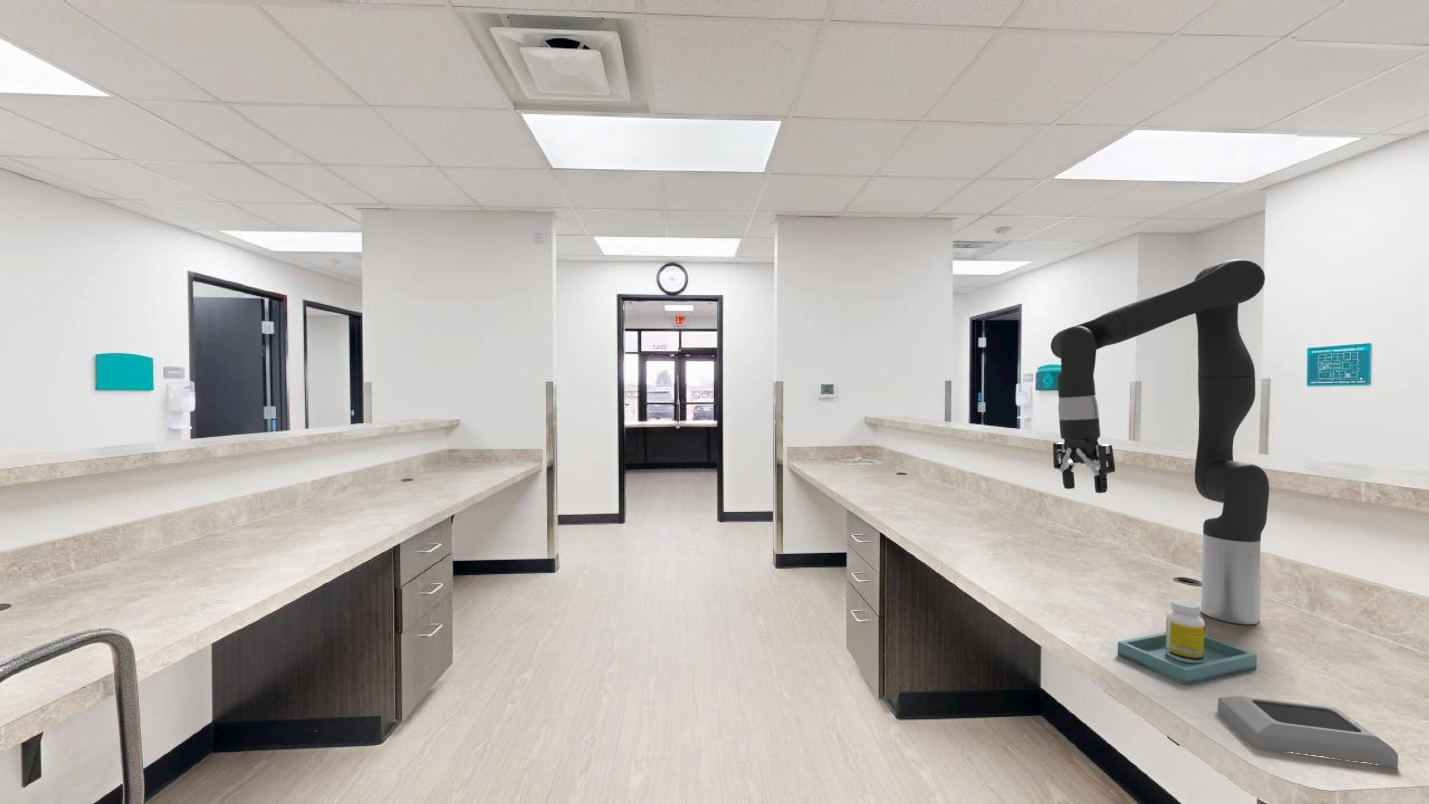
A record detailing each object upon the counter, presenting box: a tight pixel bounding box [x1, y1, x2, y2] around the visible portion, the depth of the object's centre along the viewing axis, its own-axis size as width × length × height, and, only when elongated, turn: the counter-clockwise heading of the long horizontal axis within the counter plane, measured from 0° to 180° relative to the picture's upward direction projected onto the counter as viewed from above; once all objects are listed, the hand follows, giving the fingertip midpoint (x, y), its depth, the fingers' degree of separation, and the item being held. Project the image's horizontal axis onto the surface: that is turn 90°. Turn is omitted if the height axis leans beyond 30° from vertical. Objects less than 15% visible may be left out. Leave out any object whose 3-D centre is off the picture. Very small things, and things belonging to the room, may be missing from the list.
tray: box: [1117, 631, 1258, 686], centre depth 105 cm, size 18×12×2 cm, turn 109°
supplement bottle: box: [1165, 599, 1206, 663], centre depth 105 cm, size 5×5×10 cm
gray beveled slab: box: [1217, 695, 1399, 769], centre depth 82 cm, size 10×4×15 cm
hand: (1084, 490), depth 130 cm, fingers open, 8 cm apart
